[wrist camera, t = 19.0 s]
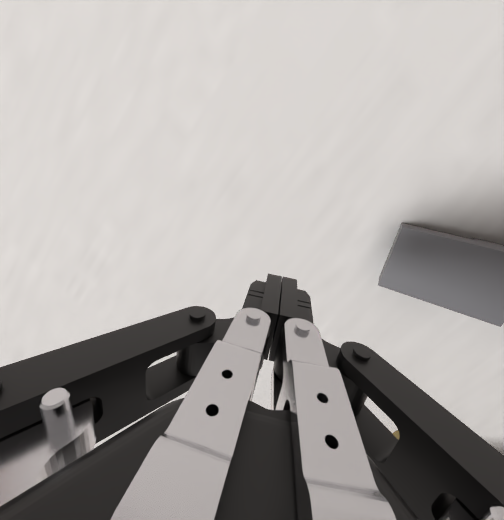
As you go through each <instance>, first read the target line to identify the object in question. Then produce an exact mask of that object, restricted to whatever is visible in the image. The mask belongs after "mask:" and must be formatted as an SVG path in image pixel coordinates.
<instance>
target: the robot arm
mask: <svg viewBox="0 0 504 520" xmlns="http://www.w3.org/2000/svg"><path fill="white" fill-rule="evenodd" d="M281 280H282V282H281ZM269 350H270V354H269ZM174 352H177V355H176V356H174V357H172V358H170V359H167V360H165V361H163V362H161V363H158V364H156V365H154V366H152V367H150V368H148V367H149V366H150V365H151V364H152V363H153V362H155V361H156V360H159V359H161V358H163V357H165V356H168V355H170V354H172V353H174ZM268 354H269V360H270V361H274V368H273V372H272V376H271V410H268V409H265V408H263V407H261V406H260V405H258V404H256V403H254V402H252V397H253V394H254V390H255V386H256V382H257V378H258V375H259V370H260V369H261V367H262V364H263V360H264V359H266V360H267V358H268ZM188 390H189V391H188ZM187 391H188V393H187V395H186V396H185V398H182V399H179V400H176V401H173V402H171V403H169V404H166V403H167V402H169V401H171V400H173V399H174V398H176V397H178V396H180V395H181V394H183V393H185V392H187ZM367 396H368V397H369V398H370V399H371V400H372V401H373V402H374V403H375V404H376V405H377V406H378V407H379V408H380V409H381V410H382V411H383V412H384V413H385V414H386V415H387V416H388V417H389V418H390V419H391V420H392V421H393V422H394V423H395V425H396V426H397V428H398V431H399V435H400V437H399V440H398V439H397V438H396V437H395V436H394V435H393V434H392V433H391V432H390V431H389V430H388V429H387V428H386V427H385V426H384V425H383V424H382V423H381V422H380V421H379V419H378V418H377V417H376V416H375V415H374V414H373V413H372V412H371V411H370V410H369V409H368V408H367V407H366V406H365V405H364V402H365V400H366V398H367ZM164 404H166V405H165V406H163V407H161V408H159V407H160V406H162V405H164ZM157 408H159V409H158V410H156V411H154V412H153V413H151V414H150V415H148V416H146V417H145V418H143V419H141V420H140V421H138V422H137V423H135V424H133V425H132V426H130V427H128V428H127V429H125V430H124V431H122V432H120V433H119V434H117V435H116V436H114V437H112V438H111V439H109V440H107V441H106V442H104V443H103V444H101V445H99V446H98V447H96V448H94V445H95V444H96V443H98V442H99V441H101V440H103V439H105V438H106V437H108V436H110V435H112V434H113V433H115V432H117V431H119V430H120V429H122V428H124V427H126V426H127V425H129V424H131V423H132V422H134V421H136V420H138V419H139V418H141V417H143V416H145V415H146V414H148V413H150V412H152V411H153V410H155V409H157ZM93 448H94V449H93ZM0 520H504V456H503V455H502V454H501V453H500V452H498V451H497V450H496V449H495V448H493V447H492V446H491V445H490V444H488V443H487V442H486V441H485V440H483V439H482V438H481V437H480V436H478V435H477V434H476V433H475V432H473V431H472V430H471V429H470V428H469V427H467V426H466V425H465V424H464V423H462V422H461V421H460V420H459V419H457V418H456V417H455V416H454V415H452V414H451V413H450V412H449V411H447V410H446V409H445V408H444V407H442V406H441V405H440V404H439V403H437V402H436V401H435V400H434V399H432V398H431V397H430V396H429V395H427V394H426V393H425V392H424V391H423V390H421V389H420V388H419V387H418V386H416V385H415V384H414V383H413V382H411V381H410V380H409V379H408V378H406V377H405V376H404V375H403V374H401V373H400V372H399V371H398V370H396V369H395V368H394V367H393V366H391V365H390V364H389V363H388V362H386V361H385V360H384V359H383V358H382V357H380V356H379V355H378V354H377V353H375V352H374V351H373V350H371V349H370V348H368V347H367V346H365V345H363V344H360V343H357V342H346V343H344V344H342V346H341V348H339V347H336V346H334V345H332V344H330V343H328V342H326V341H324V340H323V339H322V338H321V335H320V332H319V330H318V328H317V327H316V326H315V325H314V324H313V316H312V309H311V301H310V296H309V295H308V294H307V292H306V291H303V290H299V289H297V280H296V279H291V278H287V277H283V278H282V276H277V275H272V274H268V277H267V281H266V282H261V281H257V280H256V281H255V282H253V283H252V284H251V285H250V288H249V291H248V294H247V296H246V299H245V302H244V305H243V308H242V309H241V310H239V311H238V312H237V314H236V315H235V317H234V318H230V319H216V316H215V314H214V312H213V311H211V310H210V309H208V308H205V307H201V306H193V307H188V308H185V309H182V310H179V311H175V312H172V313H169V314H166V315H163V316H160V317H157V318H153V319H150V320H147V321H144V322H141V323H138V324H135V325H132V326H128V327H125V328H122V329H119V330H116V331H113V332H110V333H106V334H103V335H100V336H97V337H94V338H91V339H88V340H85V341H81V342H78V343H75V344H72V345H69V346H66V347H63V348H60V349H56V350H53V351H50V352H47V353H44V354H41V355H38V356H34V357H31V358H28V359H25V360H22V361H19V362H16V363H13V364H9V365H6V366H3V367H0Z"/></svg>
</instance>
